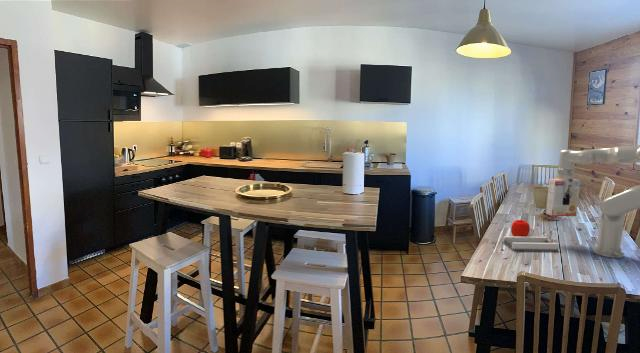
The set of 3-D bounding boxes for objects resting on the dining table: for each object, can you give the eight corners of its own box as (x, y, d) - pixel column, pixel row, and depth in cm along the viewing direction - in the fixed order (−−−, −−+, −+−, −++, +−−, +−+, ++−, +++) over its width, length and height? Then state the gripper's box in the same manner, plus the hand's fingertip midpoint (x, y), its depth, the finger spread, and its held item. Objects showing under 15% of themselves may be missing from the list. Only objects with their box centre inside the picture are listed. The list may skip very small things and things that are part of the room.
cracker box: (569, 213, 206) (573, 178, 202) (576, 216, 200) (581, 180, 196) (544, 213, 206) (548, 178, 202) (551, 216, 200) (555, 179, 196)
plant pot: (532, 208, 283) (534, 189, 281) (529, 204, 297) (531, 185, 294) (554, 210, 277) (556, 190, 275) (550, 206, 291) (552, 187, 288)
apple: (531, 243, 205) (533, 222, 203) (513, 241, 207) (515, 221, 205) (525, 237, 214) (527, 218, 212) (507, 236, 216) (509, 217, 214)
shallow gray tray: (558, 251, 192) (558, 244, 192) (513, 250, 193) (513, 243, 192) (544, 243, 204) (545, 236, 204) (502, 242, 205) (503, 236, 204)
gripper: (583, 174, 190) (578, 207, 193) (563, 169, 207) (559, 199, 210) (568, 174, 190) (564, 206, 193) (549, 169, 207) (546, 199, 210)
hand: (561, 203), depth 202 cm, fingers closed on cracker box, 6 cm apart
